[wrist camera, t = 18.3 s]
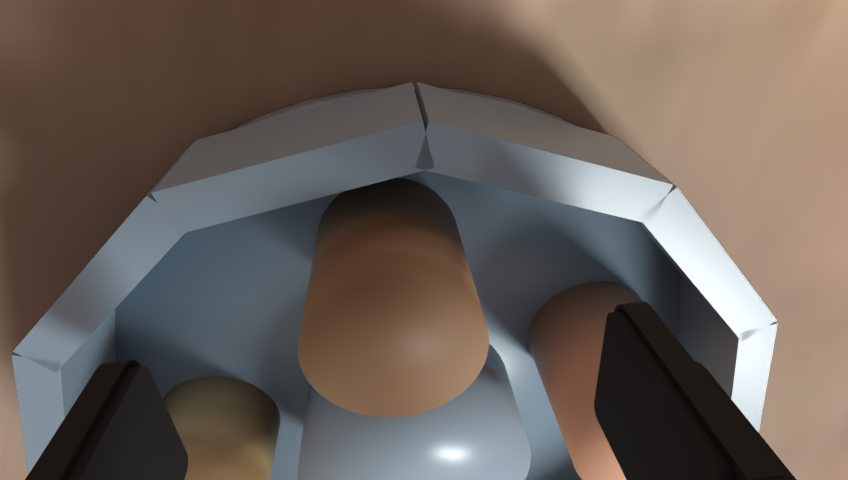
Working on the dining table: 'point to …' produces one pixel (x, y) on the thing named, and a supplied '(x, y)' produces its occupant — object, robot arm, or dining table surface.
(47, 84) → the dining table surface
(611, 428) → the robot arm
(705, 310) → the tray
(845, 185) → the dining table surface
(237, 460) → the bead
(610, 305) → the bead
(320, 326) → the bead
